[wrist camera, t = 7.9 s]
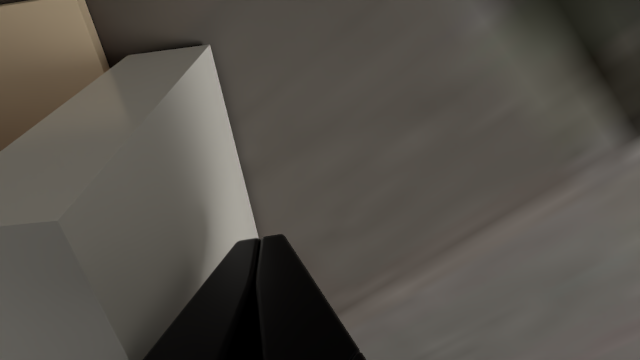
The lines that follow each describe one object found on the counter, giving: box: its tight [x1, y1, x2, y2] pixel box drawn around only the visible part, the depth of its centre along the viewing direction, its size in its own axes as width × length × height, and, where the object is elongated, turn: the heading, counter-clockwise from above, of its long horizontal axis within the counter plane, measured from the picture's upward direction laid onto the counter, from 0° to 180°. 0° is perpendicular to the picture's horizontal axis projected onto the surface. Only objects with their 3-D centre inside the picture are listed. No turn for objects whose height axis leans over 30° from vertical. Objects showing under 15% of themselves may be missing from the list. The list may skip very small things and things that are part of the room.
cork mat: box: [0, 0, 110, 151], centre depth 15 cm, size 20×10×1 cm, turn 8°
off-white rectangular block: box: [0, 45, 259, 360], centre depth 10 cm, size 6×2×7 cm, turn 8°
